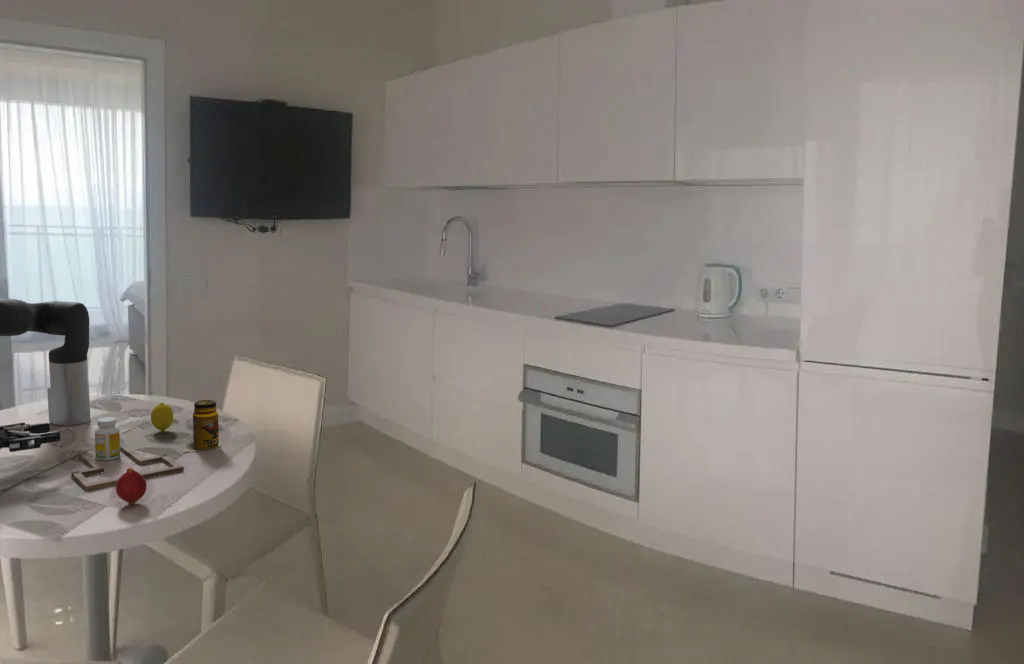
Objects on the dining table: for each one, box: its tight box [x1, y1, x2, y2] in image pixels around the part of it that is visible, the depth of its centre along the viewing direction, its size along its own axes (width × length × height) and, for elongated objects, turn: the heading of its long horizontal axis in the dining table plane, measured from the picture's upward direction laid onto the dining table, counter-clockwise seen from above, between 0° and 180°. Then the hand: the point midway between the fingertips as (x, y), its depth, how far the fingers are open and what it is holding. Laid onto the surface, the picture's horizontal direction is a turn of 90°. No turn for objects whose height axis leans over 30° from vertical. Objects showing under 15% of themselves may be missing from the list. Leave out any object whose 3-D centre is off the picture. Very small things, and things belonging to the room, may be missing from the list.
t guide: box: [70, 444, 185, 492], centre depth 191 cm, size 24×21×1 cm
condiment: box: [182, 399, 223, 453], centre depth 206 cm, size 7×8×12 cm
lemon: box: [150, 402, 174, 433], centre depth 217 cm, size 6×6×8 cm
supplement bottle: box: [94, 416, 121, 462], centre depth 195 cm, size 5×5×10 cm
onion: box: [115, 467, 147, 505], centre depth 169 cm, size 6×6×8 cm
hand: (54, 431), depth 187 cm, fingers open, 8 cm apart
